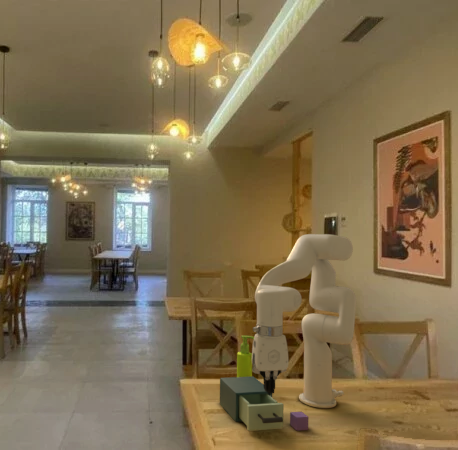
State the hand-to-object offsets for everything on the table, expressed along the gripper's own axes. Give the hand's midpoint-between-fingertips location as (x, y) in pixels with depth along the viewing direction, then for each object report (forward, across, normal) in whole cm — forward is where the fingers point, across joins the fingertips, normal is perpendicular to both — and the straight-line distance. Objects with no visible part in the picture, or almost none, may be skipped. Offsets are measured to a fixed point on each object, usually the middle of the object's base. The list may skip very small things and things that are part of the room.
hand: (269, 391), depth 124 cm
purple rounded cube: (+13, +12, +3) cm, 17 cm away
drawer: (+12, 0, +5) cm, 13 cm away
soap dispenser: (+13, +10, +39) cm, 42 cm away
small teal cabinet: (+13, 0, +17) cm, 21 cm away
